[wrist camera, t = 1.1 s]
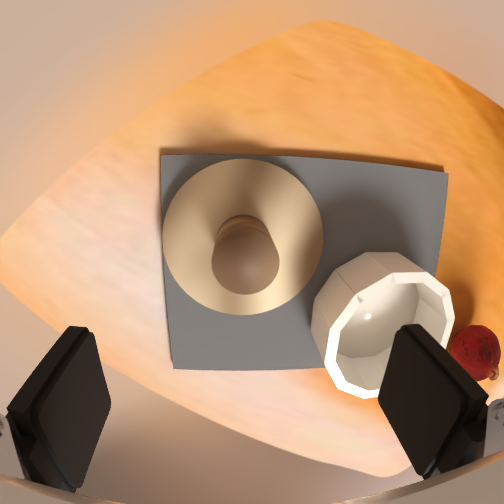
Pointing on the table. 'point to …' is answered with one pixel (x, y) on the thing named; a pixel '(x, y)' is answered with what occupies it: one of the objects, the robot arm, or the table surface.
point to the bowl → (375, 316)
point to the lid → (242, 236)
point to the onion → (477, 352)
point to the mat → (333, 256)
